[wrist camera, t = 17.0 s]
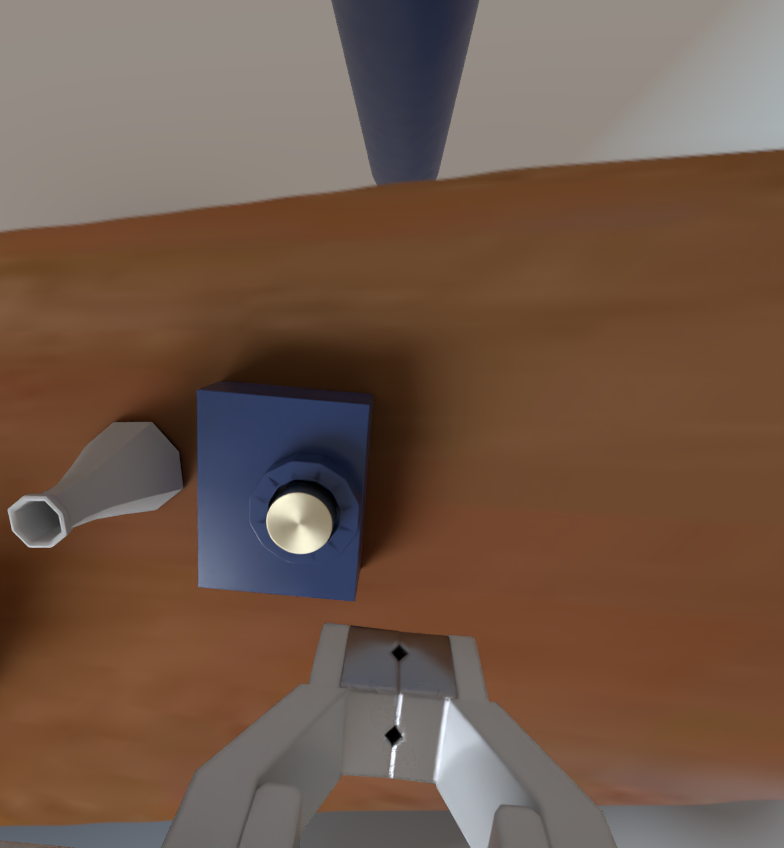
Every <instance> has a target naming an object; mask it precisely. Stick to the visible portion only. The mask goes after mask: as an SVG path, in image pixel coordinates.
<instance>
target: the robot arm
mask: <svg viewBox="0 0 784 848" xmlns="http://www.w3.org/2000/svg"><path fill="white" fill-rule="evenodd" d="M341 775H353V776H369V777H385V778H394V779H402V780H410V781H418V782H425V783H433V784H437V785H436V787H437V789H438V791H439V792H440V794H441V796H442V798H443V799H444V801H445V803H446V805H447V806H448V808H449V810H450V812H451V813H452V815H453V817H454V818H455V820H456V822H457V824H458V825H459V827H460V829H461V831H462V833H463V834H464V836H465V838H466V840H467V841H468V843H469V845H470V847H471V848H617V847H616V844H615V841H614V839H613V836H612V833H611V831H610V828H609V826H608V823H607V821H606V818H605V816H604V813H603V811H602V810H601V809H600V808H599V807H598V806H597V805H596V804H595V803H594V802H593V801H592V800H591V799H590V798H589V797H588V796H587V795H586V794H585V793H584V792H583V791H582V790H581V789H580V788H579V787H578V785H577V784H576V783H575V782H574V781H573V780H572V779H571V778H570V777H569V776H568V775H567V774H566V773H565V772H564V771H563V770H562V769H561V768H560V767H559V766H558V765H557V764H556V763H555V762H554V761H553V760H552V759H551V758H550V757H549V756H548V755H547V754H546V753H545V752H544V751H543V750H542V748H541V747H540V746H539V745H538V744H537V743H536V742H535V741H534V740H533V739H532V738H531V737H530V736H529V735H528V734H527V733H526V732H525V731H524V730H523V729H522V728H521V727H520V726H519V725H518V724H517V723H516V722H515V721H514V720H513V719H512V718H511V717H510V716H509V715H508V714H507V712H506V711H505V710H504V709H503V708H502V707H501V706H500V705H499V704H498V703H496V702H489V699H488V695H487V690H486V686H485V681H484V676H483V672H482V667H481V663H480V658H479V654H478V649H477V645H476V640H475V639H474V638H473V637H471V636H456V635H448V636H444V635H433V634H422V633H411V632H400V631H394V630H386V629H378V628H369V627H361V626H353V625H350V626H349V625H342V624H332V623H325V624H324V626H323V627H322V631H321V635H320V639H319V643H318V647H317V651H316V655H315V659H314V663H313V667H312V671H311V675H310V679H309V683H308V684H300V685H298V686H297V687H296V688H295V689H294V690H292V691H291V692H290V693H289V694H288V695H287V696H285V697H284V698H283V699H282V700H281V701H279V702H278V703H277V704H276V705H275V706H273V707H272V708H271V709H270V710H269V711H267V712H266V713H265V714H264V715H263V716H261V717H260V718H259V719H258V720H257V721H255V722H254V723H253V724H252V725H251V726H249V727H248V728H247V729H246V730H245V731H243V732H242V733H241V734H240V735H239V736H237V737H236V738H235V739H234V740H233V741H231V742H230V743H229V744H228V745H227V746H225V747H224V748H223V749H222V750H221V751H219V752H218V753H217V754H216V755H215V756H213V757H212V758H211V759H210V760H209V761H207V762H206V763H205V764H204V765H203V766H201V767H200V768H199V769H198V770H197V771H195V773H194V775H193V777H192V780H191V782H190V784H189V786H188V789H187V791H186V793H185V795H184V797H183V800H182V802H181V804H180V806H179V809H178V811H177V813H176V815H175V818H174V820H173V822H172V825H171V826H170V829H169V831H168V833H167V835H166V838H165V840H164V842H163V844H162V847H161V848H300V834H301V832H302V830H303V829H304V828H305V827H306V825H307V824H308V822H309V821H310V820H311V818H312V817H313V815H314V814H315V813H316V811H317V810H318V809H319V807H320V806H321V804H322V803H323V802H324V800H325V799H326V798H327V796H328V795H329V793H330V792H331V791H332V789H333V788H334V786H335V785H336V784H337V782H338V781H339V780H340V778H341ZM0 848H71V847H61V846H49V845H40V844H29V843H19V842H8V841H0Z"/></svg>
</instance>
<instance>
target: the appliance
mask: <svg viewBox="0 0 784 848" xmlns="http://www.w3.org/2000/svg"><path fill="white" fill-rule="evenodd" d="M373 401H374V394H366V393H355V392H343V391H332V390H321V389H310V388H298V387H287V386H276V385H265V384H254V383H242V382H231V381H220V382H217V383H214V384H211V385H208V386H206V387H203V388H200V389H197V479H198V587H203V588H214V589H225V590H236V591H247V592H258V593H268V594H279V595H290V596H301V597H312V598H323V599H334V600H344V601H355V597H356V592H357V586H358V580H359V575H360V567H361V555H362V542H363V529H364V516H365V503H366V491H367V478H368V465H369V452H370V439H371V427H372V414H373ZM296 483H311V484H315V485H317V486H319V487H321V488H323V489H324V490H325V491H326V492H327V493H328V494H329V495H330V496H331V498H332V499H333V501H334V503H335V507H336V520H335V524H334V527H333V530H332V532H331V535H330V537H329V539H328V541H327V542H326V543H325V544H324V545H323V546H322V547H321V548H320V549H318V550H316V551H314V552H311V553H307V554H295V553H291V552H288V551H286V550H284V549H282V548H281V547H279V546H278V545H277V544H276V543H275V542H274V541H273V540H272V538H271V537H270V535H269V533H268V530H267V525H266V518H267V513H268V510H269V508H270V506H271V505H272V503H273V502H274V501H275V499H276V498H277V496H278V495H279V494H280V492H281V491H282V490H283V489H285V488H286V487H288V486H290V485H292V484H296Z"/></svg>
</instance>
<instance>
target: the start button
mask: <svg viewBox="0 0 784 848" xmlns="http://www.w3.org/2000/svg"><path fill="white" fill-rule="evenodd" d="M335 520H336V507H335V503H334V501H333V499H332V498H331V496H330V495H329V494H328V493H327V492H326V491H325V490H324V489H323V488H321V487H319V486H317V485H315V484H311V483H296V484H292V485H290V486H288V487H286V488H285V489H283V490H282V491H281V492H280V494H279V495H278V496H277V498H276V499H275V501H274V502H273V503H272V505H271V506H270V508H269V510H268V513H267V518H266V525H267V530H268V533H269V535H270V537H271V538H272V540H273V541H274V542H275V543H276V544H277V545H278V546H279V547H281V548H282V549H284V550H286V551H288V552H291V553H295V554H307V553H311V552H314V551H316V550H318V549H320V548H321V547H322V546H323V545H324V544H325V543H326V542H327V541H328V539H329V537H330V535H331V532H332V530H333V527H334V524H335Z"/></svg>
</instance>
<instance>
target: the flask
mask: <svg viewBox="0 0 784 848" xmlns="http://www.w3.org/2000/svg"><path fill="white" fill-rule="evenodd" d="M182 489H183V481H182V473H181V465H180V457H179V451H178V450H177V449H176V448H175V447H174V446H173V445H172V444H171V442H170V441H169V440H168V439H167V438H166V437H165V436H164V435H163V434H162V432H161V431H160V430H159V429H158V428H157V427H156V426H155V425H154V423H153V422H113V423H112V424H111V425H110V426H109V427H107V428H106V429H105V430H104V431H103V432H101V433H100V434H99V435H98V436H97V437H96V438H94V439H93V440H92V441H91V442H90V443H89V444H87V445H86V447H85V448H84V449H83V450H82V452H81V453H80V455H79V456H78V458H77V459H76V461H75V462H74V464H73V465H72V467H71V468H70V469H69V470H68V472H67V473H66V474H65V475H64V477H63V478H62V479H61V480H60V482H59V483H58V484H56V485H55V486H54V487H53V488H51V489H49V490H47V491H45V492H43V493H41V494H27V495H25V496H23V497H22V498H20V499H19V500H18V501H17V502H16V503H15V504H13V505H12V506H11V507H10V508H9V509H8V514H9V518H10V523H11V528H12V531H13V532H14V533H15V534H16V535H17V536H18V537H19V538H20V539H21V540H22V541H23V542H24V543H25V544H26V545H27V546H28V547H29V548H51V547H53V546H55V545H56V544H57V543H58V542H60V541H61V540H62V539H63V538H64V537H66V536H67V535H68V534H69V533H70V532H71V531H72V528H74V527H76V526H79V525H81V524H84V523H87V522H89V521H92V520H95V519H99V518H105V517H111V516H117V515H122V514H130V513H138V512H146V511H152V510H157V509H158V508H159V507H161V506H162V505H163V504H164V503H166V502H167V501H168V500H169V499H171V498H172V497H173V496H174V495H176V494H177V493H178V492H179V491H181V490H182Z"/></svg>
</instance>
